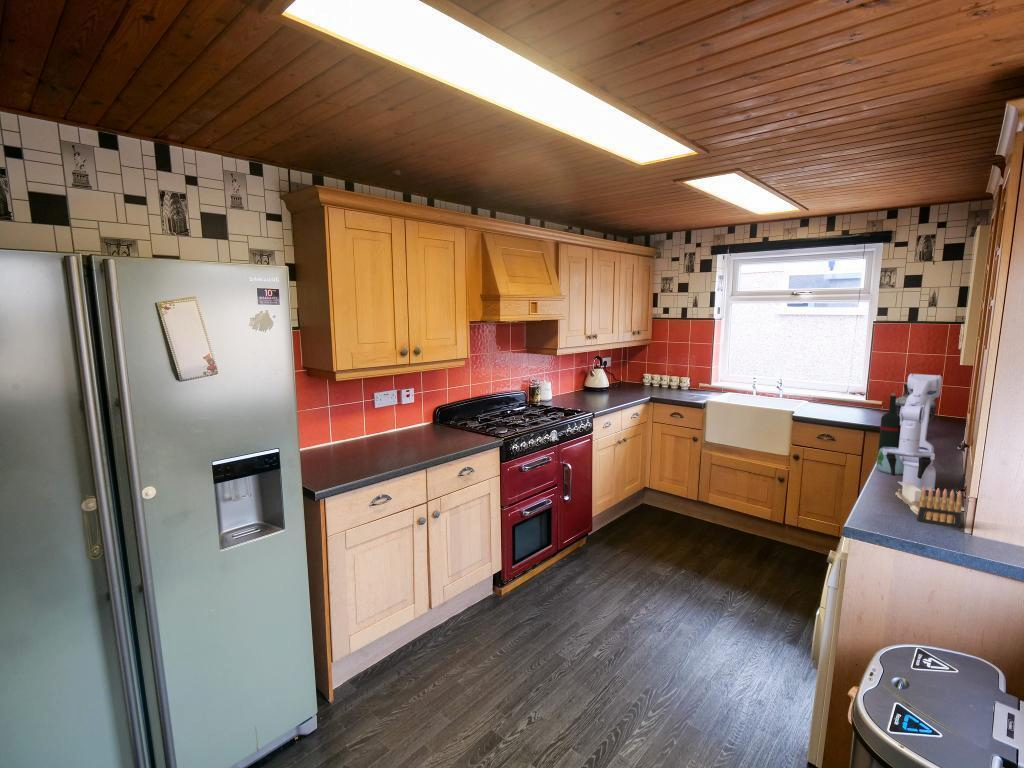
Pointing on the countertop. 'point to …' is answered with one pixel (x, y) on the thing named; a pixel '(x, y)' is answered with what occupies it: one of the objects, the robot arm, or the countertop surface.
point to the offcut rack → (913, 505)
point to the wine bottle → (890, 427)
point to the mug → (884, 464)
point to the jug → (902, 401)
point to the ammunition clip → (940, 508)
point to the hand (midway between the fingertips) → (905, 476)
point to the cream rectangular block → (911, 492)
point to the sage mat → (947, 502)
